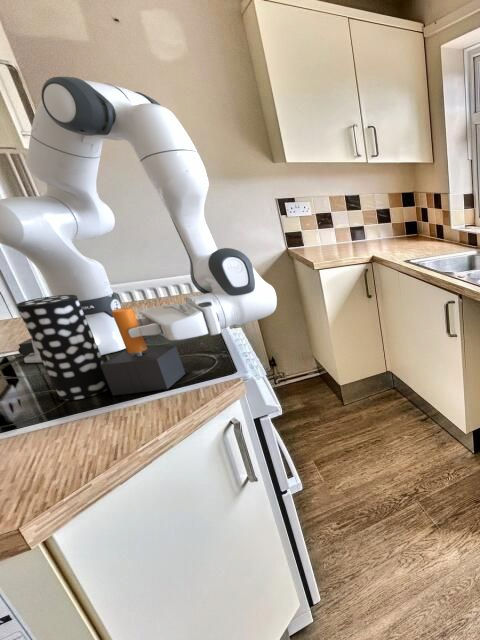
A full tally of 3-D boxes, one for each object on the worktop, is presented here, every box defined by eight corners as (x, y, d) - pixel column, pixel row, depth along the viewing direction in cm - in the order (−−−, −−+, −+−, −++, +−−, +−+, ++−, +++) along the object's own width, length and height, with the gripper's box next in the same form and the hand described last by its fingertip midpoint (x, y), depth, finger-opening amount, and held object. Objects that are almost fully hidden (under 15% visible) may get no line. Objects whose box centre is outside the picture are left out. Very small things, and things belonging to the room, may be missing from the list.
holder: (112, 395, 87) (99, 364, 85) (135, 379, 94) (124, 350, 92) (167, 389, 89) (156, 359, 87) (185, 373, 97) (176, 345, 94)
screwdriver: (138, 388, 90) (107, 312, 84) (146, 381, 93) (117, 308, 86) (155, 386, 91) (126, 311, 84) (163, 379, 94) (135, 306, 87)
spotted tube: (52, 404, 84) (6, 308, 77) (69, 387, 91) (28, 298, 84) (105, 394, 88) (66, 301, 81) (118, 379, 95) (83, 292, 88)
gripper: (182, 294, 102) (107, 308, 92) (215, 307, 90) (132, 325, 80) (190, 319, 104) (118, 335, 94) (223, 335, 92) (144, 355, 82)
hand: (125, 331), depth 87 cm, fingers open, 4 cm apart
